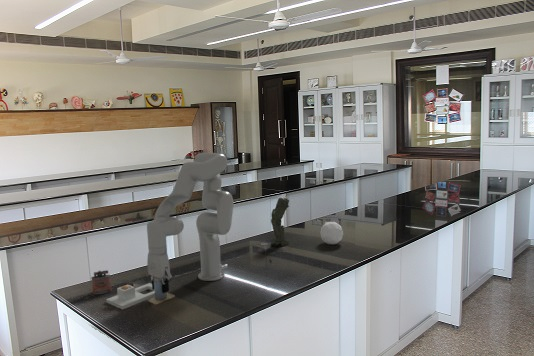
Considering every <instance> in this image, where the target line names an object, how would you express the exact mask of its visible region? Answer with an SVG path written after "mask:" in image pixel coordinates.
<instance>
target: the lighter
mask: <svg viewBox="0 0 534 356" xmlns="http://www.w3.org/2000/svg"><path fill="white" fill-rule="evenodd" d="M90 279H91V280H90V281H91V286H92V295H103V294H108V293H111V292H112V291H113V289H112V284H111V282H112V281H111V274H109V270H108V269H106V270H98V271H94V272H93V276H91V278H90Z"/></svg>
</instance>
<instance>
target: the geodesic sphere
mask: <svg viewBox="0 0 534 356" xmlns="http://www.w3.org/2000/svg"><path fill="white" fill-rule="evenodd" d="M323 223H324V224H323V225H322V226H321V229H320V233H319V234H320V237H321V240H322V241H323V242H324V243H325V244H327V245H337V244H338V243H339V242H340V241H341V240H342V239H343V237H344V231H343V229H342V226H341V225H340V224H339V223H337V222H336V221H333V220H331V221H328V220H326V221H324V222H323Z"/></svg>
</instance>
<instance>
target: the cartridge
mask: <svg viewBox="0 0 534 356" xmlns="http://www.w3.org/2000/svg"><path fill="white" fill-rule="evenodd" d="M153 279H154V291H155V299H157V300H161V299H165V298H167V293H168V292H166V293H162V284H163V283H162V280H161V279H160V278H157V277H154V278H153ZM165 279H166V278H164V281H165Z"/></svg>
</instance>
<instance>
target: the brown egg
mask: <svg viewBox="0 0 534 356" xmlns="http://www.w3.org/2000/svg"><path fill="white" fill-rule="evenodd" d="M128 285H129V284H126V286H125V285H122V286H123V287H122V286H121V287H122V288H123V290H126V289H129V286H128Z"/></svg>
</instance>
